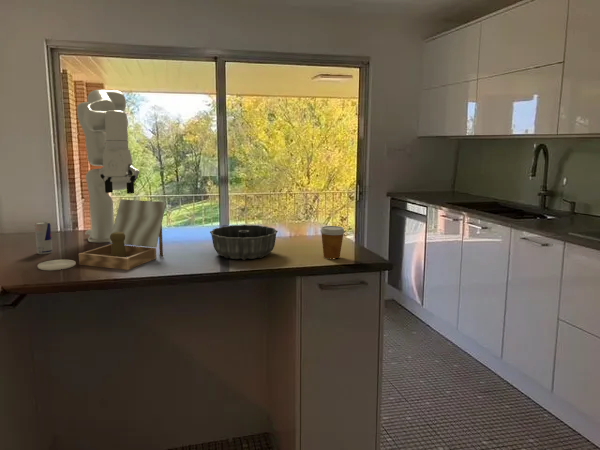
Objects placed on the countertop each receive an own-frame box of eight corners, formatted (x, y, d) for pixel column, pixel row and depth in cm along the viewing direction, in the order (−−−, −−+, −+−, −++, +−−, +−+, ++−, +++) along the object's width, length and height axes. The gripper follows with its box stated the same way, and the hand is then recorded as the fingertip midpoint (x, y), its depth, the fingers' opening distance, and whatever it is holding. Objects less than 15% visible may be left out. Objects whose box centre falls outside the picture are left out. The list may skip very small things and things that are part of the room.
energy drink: (55, 252, 191) (53, 222, 189) (44, 255, 186) (42, 224, 184) (45, 250, 193) (42, 221, 191) (33, 253, 188) (31, 223, 186)
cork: (113, 259, 182) (111, 230, 180) (129, 259, 182) (128, 230, 180) (108, 263, 176) (106, 233, 174) (125, 263, 176) (123, 233, 174)
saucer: (29, 268, 167) (29, 266, 167) (56, 260, 179) (56, 258, 178) (57, 271, 164) (57, 269, 164) (83, 263, 175) (83, 261, 175)
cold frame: (79, 264, 174) (75, 207, 170) (123, 249, 198) (121, 199, 194) (127, 269, 168) (125, 210, 164) (167, 253, 192) (166, 201, 188)
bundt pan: (222, 266, 175) (222, 239, 173) (202, 251, 198) (201, 227, 196) (288, 259, 187) (288, 234, 185) (261, 245, 210) (261, 223, 208)
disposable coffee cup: (346, 256, 193) (348, 227, 191) (338, 261, 184) (340, 230, 182) (324, 253, 197) (325, 224, 195) (315, 258, 188) (316, 228, 186)
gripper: (90, 145, 174) (93, 193, 176) (130, 145, 168) (132, 194, 171) (105, 145, 181) (107, 191, 183) (143, 145, 175) (145, 192, 178)
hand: (119, 192), depth 177 cm, fingers open, 9 cm apart
